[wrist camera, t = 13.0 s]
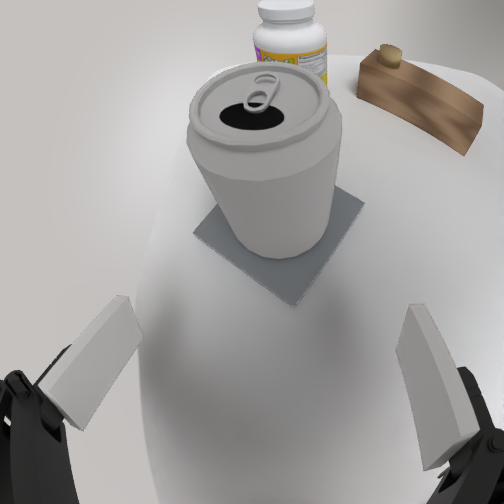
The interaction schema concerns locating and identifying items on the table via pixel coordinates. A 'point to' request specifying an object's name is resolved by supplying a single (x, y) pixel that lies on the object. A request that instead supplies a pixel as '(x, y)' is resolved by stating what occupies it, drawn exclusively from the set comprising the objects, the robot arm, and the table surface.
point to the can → (268, 153)
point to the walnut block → (419, 98)
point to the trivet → (287, 269)
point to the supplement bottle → (291, 35)
